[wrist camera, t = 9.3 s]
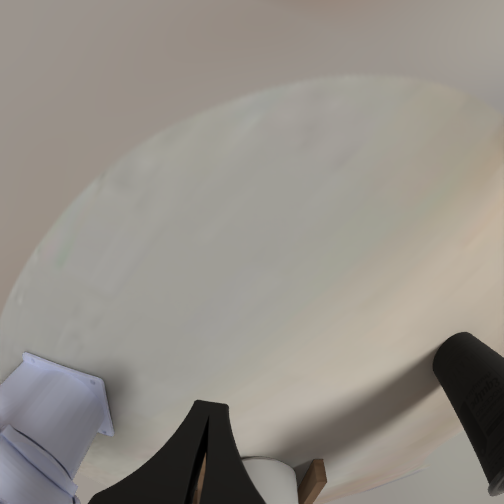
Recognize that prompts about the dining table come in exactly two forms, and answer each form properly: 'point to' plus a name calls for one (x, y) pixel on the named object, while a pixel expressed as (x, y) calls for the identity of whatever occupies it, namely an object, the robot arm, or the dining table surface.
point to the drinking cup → (476, 399)
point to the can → (272, 480)
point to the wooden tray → (306, 490)
